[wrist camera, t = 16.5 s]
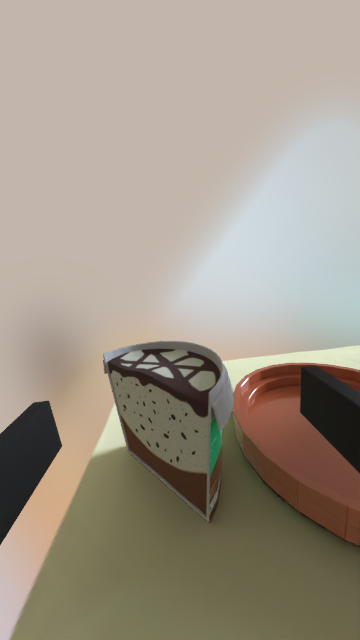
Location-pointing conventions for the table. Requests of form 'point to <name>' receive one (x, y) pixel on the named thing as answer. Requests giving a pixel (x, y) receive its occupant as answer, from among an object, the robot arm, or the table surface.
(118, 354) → the food container
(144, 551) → the table surface
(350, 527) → the terracotta plant saucer
